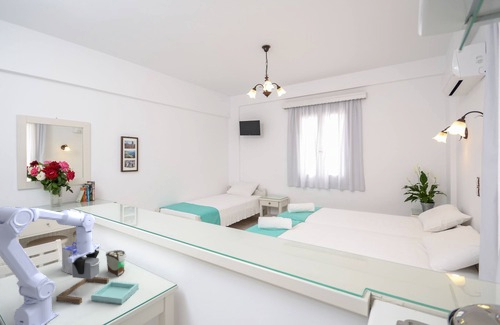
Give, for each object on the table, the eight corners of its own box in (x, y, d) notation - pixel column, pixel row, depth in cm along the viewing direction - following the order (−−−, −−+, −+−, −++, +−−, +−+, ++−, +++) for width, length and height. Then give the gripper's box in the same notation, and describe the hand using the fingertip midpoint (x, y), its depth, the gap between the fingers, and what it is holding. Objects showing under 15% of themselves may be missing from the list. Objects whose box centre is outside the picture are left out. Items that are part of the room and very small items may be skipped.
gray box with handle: (92, 279, 97) (92, 263, 97) (72, 277, 99) (71, 261, 98) (101, 273, 102) (100, 258, 101) (81, 271, 103) (81, 256, 103)
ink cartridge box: (85, 270, 119) (84, 242, 118) (73, 275, 114) (72, 247, 113) (73, 266, 123) (72, 239, 122) (61, 271, 118) (60, 243, 117)
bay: (79, 304, 93) (79, 299, 92) (56, 301, 94) (56, 296, 94) (108, 282, 108) (108, 278, 108) (88, 280, 110) (88, 276, 109)
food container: (131, 272, 117) (131, 253, 116) (119, 277, 111) (119, 258, 111) (118, 265, 123) (117, 247, 122) (106, 271, 118) (105, 252, 117)
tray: (121, 304, 92) (121, 298, 92) (91, 301, 94) (91, 295, 94) (138, 289, 102) (138, 283, 102) (111, 286, 105) (110, 280, 105)
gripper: (77, 248, 92) (79, 281, 92) (105, 235, 106) (106, 263, 107) (62, 247, 93) (64, 279, 94) (92, 234, 107) (93, 262, 108)
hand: (86, 270), depth 100 cm, fingers closed on gray box with handle, 4 cm apart
